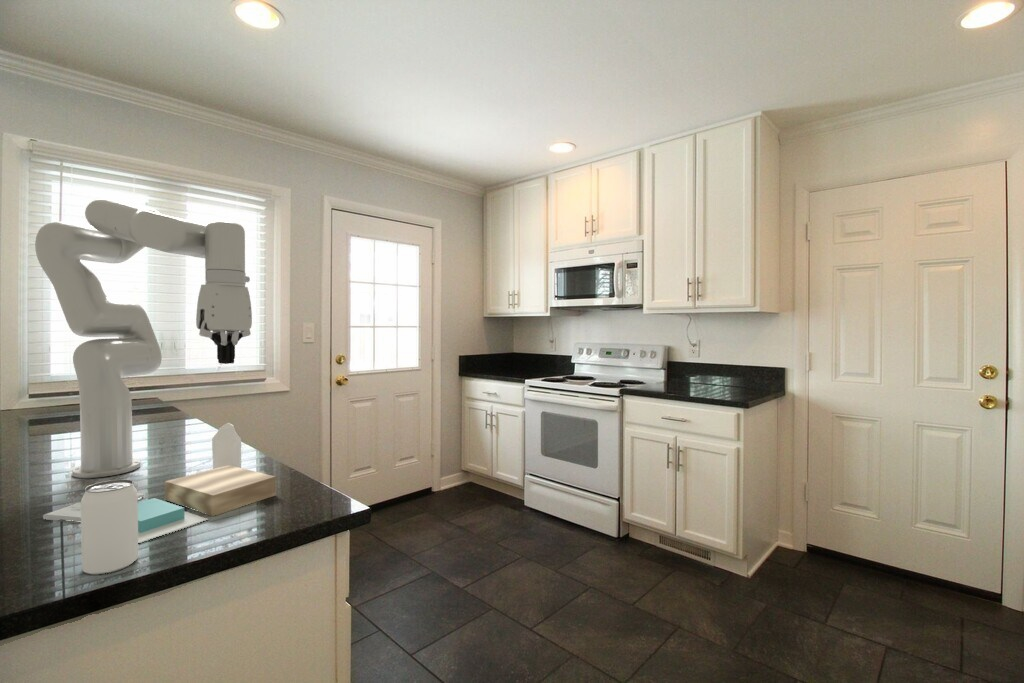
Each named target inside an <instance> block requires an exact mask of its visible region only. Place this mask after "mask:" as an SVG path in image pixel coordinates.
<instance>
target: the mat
mask: <svg viewBox="0 0 1024 683" xmlns="http://www.w3.org/2000/svg"><path fill="white" fill-rule="evenodd" d="M184 517H185V519H181V520H178V521H175V522H172V523H169V524H166V525H163V526H160V527H157V528H154V529H151V530H148V531H145V532H142V533H140V532H138V543H141V542H144V541H147V540H150V539H153V538H156V537H159V536H162V535H164V536H166V535H165V534H167V535H170V534H173V533H176V532H178V530H179V531H182V530H184V528H185V529H187V527H188V528H190V526H191V527H193V525H194V526H196V525H198V524H197V523H199V524H201V523H200V522H202V523H204V522H203V521H205V522H207V521H206V520H208V521H209V518H206V517H203V516H200V515H197V514H196V513H195V514H194V513H191V512H188V511H185V510H184ZM195 524H196V525H195ZM181 529H182V530H181ZM175 531H176V532H175ZM172 532H173V533H172ZM169 533H170V534H169ZM162 537H163V536H162ZM159 538H160V537H159ZM156 539H157V538H156ZM153 540H154V539H153ZM150 541H151V540H150ZM147 542H148V541H147ZM144 543H145V542H144ZM141 544H142V543H141Z"/></svg>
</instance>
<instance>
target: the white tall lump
mask: <svg viewBox="0 0 1024 683" xmlns="http://www.w3.org/2000/svg"><path fill="white" fill-rule="evenodd" d="M211 440H212V442H211V443H212V444H211V449H212V453H211V454H212V469H215V468H219V467H223V466H227V465H230V466H234V467H238V468H242V438H241V437H240V435H238V433H237V432H236V430H235V426H234V425H233V424H232V423H230V422H227V423H225V424H223V425H221V426H220V427H219V428H218V430H217V431H216V433H215V434H214V435H213V437H212V439H211Z"/></svg>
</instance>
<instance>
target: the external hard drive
mask: <svg viewBox="0 0 1024 683" xmlns="http://www.w3.org/2000/svg"><path fill="white" fill-rule="evenodd" d="M143 496H145V494H143V493H139V492H137V497H138V498H140V497H143ZM42 519H43V520H45V519H46V521H47V520H49V521H57V520H60V521H62V520H71V521H72V520H73V521H81V501H79V502H76V503H73V504H70V505H68V506H64V507H62V508H60V509H56V510H54V511H51V512H47V513H45V514H43V515H42Z"/></svg>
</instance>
